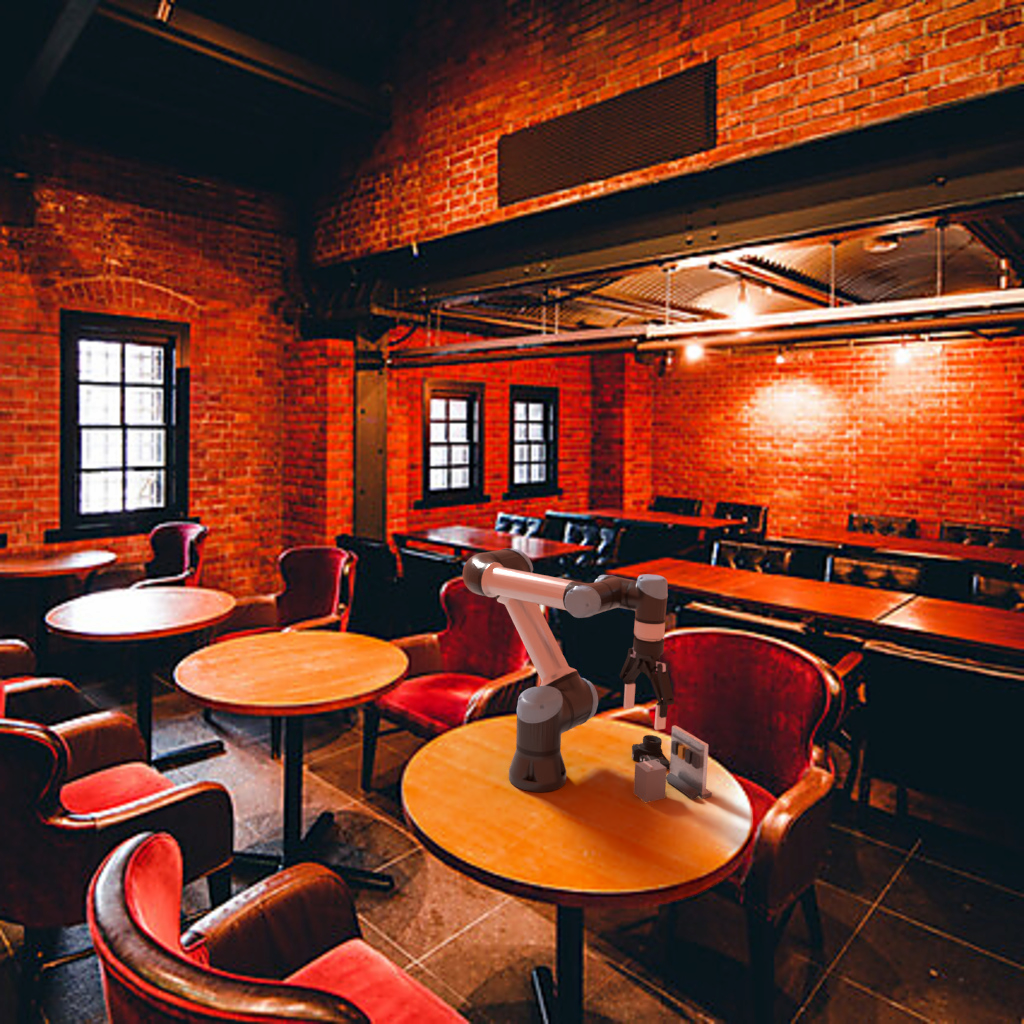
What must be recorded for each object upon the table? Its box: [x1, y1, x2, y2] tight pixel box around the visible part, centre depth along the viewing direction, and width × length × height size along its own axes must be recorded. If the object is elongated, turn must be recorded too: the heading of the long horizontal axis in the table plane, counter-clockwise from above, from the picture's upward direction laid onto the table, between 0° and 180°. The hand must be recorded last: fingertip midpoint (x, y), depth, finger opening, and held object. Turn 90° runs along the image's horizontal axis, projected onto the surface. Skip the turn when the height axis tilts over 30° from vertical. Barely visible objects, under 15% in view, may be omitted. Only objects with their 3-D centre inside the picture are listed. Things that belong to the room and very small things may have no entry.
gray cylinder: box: [666, 772, 699, 800], centre depth 188 cm, size 10×2×2 cm, turn 26°
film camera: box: [631, 734, 670, 771], centre depth 205 cm, size 13×8×10 cm
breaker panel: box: [669, 725, 713, 799], centre depth 190 cm, size 4×13×14 cm, turn 26°
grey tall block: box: [633, 760, 668, 803], centre depth 185 cm, size 7×5×9 cm
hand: (643, 718), depth 186 cm, fingers open, 13 cm apart
